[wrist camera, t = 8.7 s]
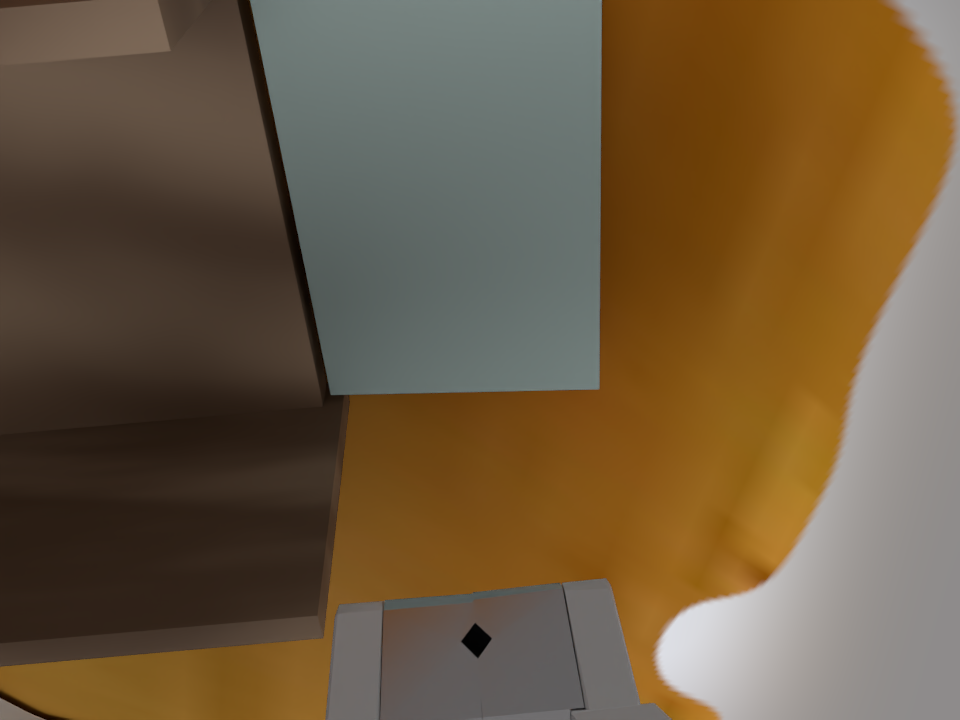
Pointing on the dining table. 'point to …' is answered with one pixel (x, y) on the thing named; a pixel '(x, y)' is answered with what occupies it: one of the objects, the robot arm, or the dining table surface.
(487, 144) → the panel
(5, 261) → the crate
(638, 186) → the dining table surface
